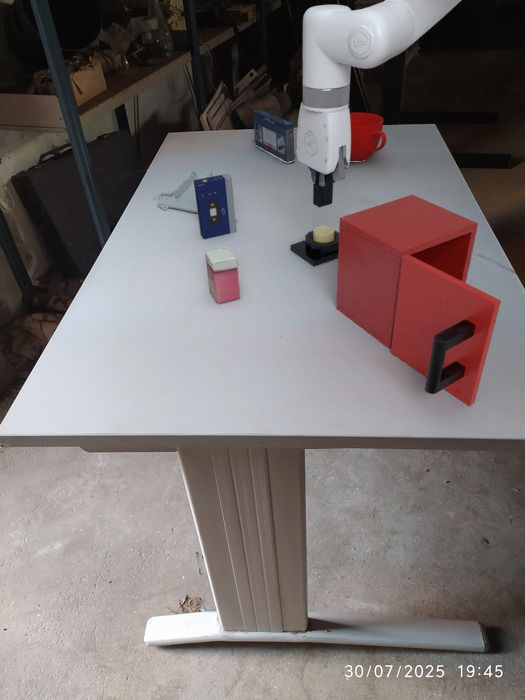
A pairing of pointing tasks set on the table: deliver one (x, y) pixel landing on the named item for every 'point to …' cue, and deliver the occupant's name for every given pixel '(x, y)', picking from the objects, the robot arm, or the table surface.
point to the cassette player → (215, 205)
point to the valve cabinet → (395, 256)
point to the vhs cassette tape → (274, 135)
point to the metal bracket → (183, 195)
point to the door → (443, 328)
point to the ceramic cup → (365, 135)
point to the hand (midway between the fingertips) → (322, 204)
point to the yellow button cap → (323, 234)
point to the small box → (222, 274)
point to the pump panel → (316, 249)
